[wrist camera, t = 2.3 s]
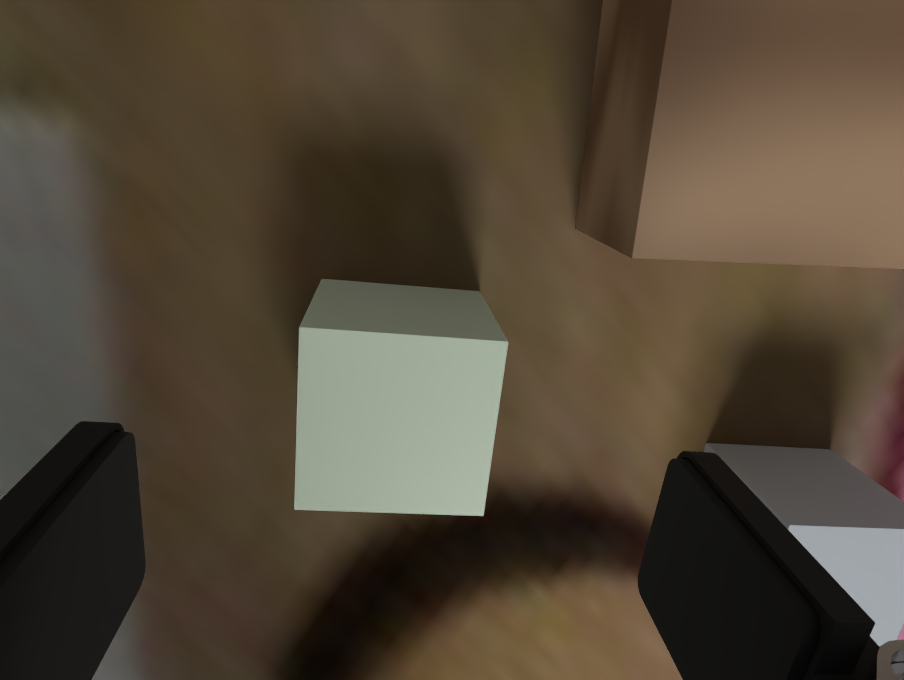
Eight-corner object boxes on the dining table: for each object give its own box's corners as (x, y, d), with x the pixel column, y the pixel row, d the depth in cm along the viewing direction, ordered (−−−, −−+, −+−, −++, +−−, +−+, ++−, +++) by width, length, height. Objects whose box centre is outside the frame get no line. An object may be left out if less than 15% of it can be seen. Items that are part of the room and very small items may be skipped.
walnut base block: (860, 240, 20) (1001, 272, 16) (572, 227, 19) (631, 258, 15) (957, -112, 17) (1171, -203, 12) (618, -152, 16) (714, -269, 11)
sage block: (462, 429, 21) (483, 515, 16) (316, 422, 20) (294, 509, 16) (479, 290, 19) (508, 341, 15) (321, 277, 19) (299, 327, 14)
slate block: (791, 558, 24) (887, 660, 20) (674, 554, 24) (744, 659, 19) (828, 448, 23) (943, 530, 18) (704, 441, 22) (789, 525, 17)
